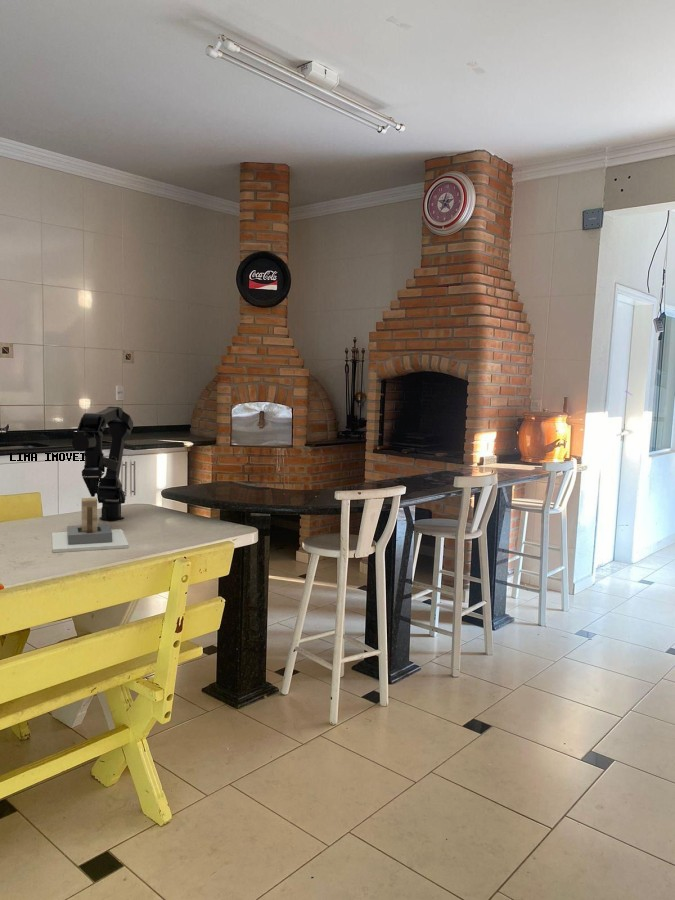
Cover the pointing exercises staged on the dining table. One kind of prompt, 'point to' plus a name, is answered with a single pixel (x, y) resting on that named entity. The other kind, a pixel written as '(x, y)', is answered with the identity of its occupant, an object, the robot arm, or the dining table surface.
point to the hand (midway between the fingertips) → (94, 495)
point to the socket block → (88, 539)
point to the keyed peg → (89, 515)
